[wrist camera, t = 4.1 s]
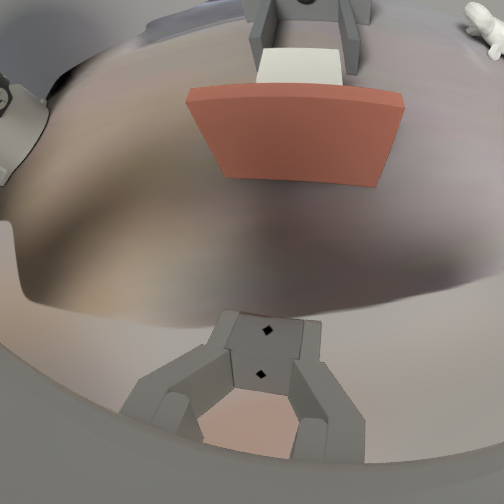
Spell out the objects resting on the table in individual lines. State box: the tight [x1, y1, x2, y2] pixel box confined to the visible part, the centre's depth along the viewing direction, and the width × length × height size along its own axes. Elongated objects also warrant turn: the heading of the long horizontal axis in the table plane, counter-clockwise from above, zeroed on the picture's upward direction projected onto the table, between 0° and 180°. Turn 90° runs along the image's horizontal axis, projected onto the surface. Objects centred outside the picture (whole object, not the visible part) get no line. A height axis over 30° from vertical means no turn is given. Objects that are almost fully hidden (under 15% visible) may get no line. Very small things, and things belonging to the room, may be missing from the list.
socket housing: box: [241, 0, 371, 75], centre depth 25 cm, size 18×18×8 cm
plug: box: [185, 48, 405, 188], centre depth 19 cm, size 12×12×10 cm
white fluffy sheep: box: [464, 2, 504, 61], centre depth 21 cm, size 9×8×15 cm
